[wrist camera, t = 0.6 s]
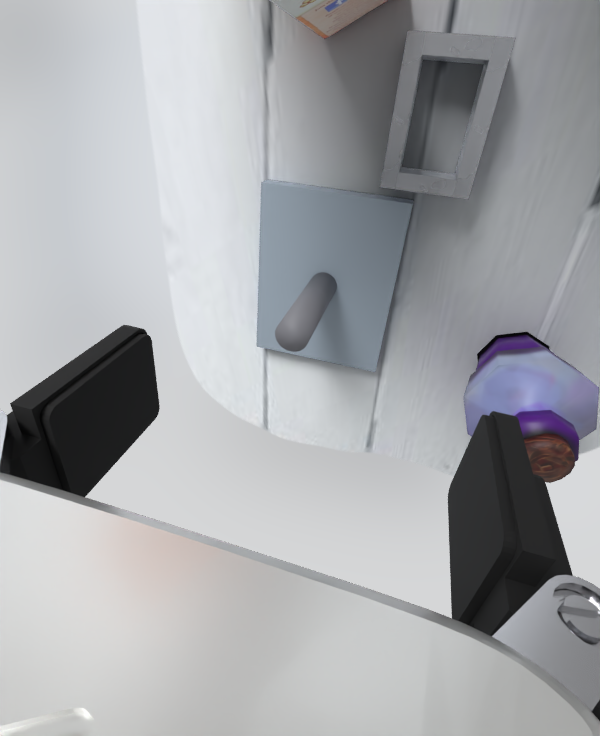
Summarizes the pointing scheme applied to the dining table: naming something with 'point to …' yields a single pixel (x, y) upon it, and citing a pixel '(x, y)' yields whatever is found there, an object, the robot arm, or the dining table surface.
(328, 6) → the cracker box
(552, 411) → the potion bottle
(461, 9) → the dining table surface
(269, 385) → the dining table surface
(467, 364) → the dining table surface
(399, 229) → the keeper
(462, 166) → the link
